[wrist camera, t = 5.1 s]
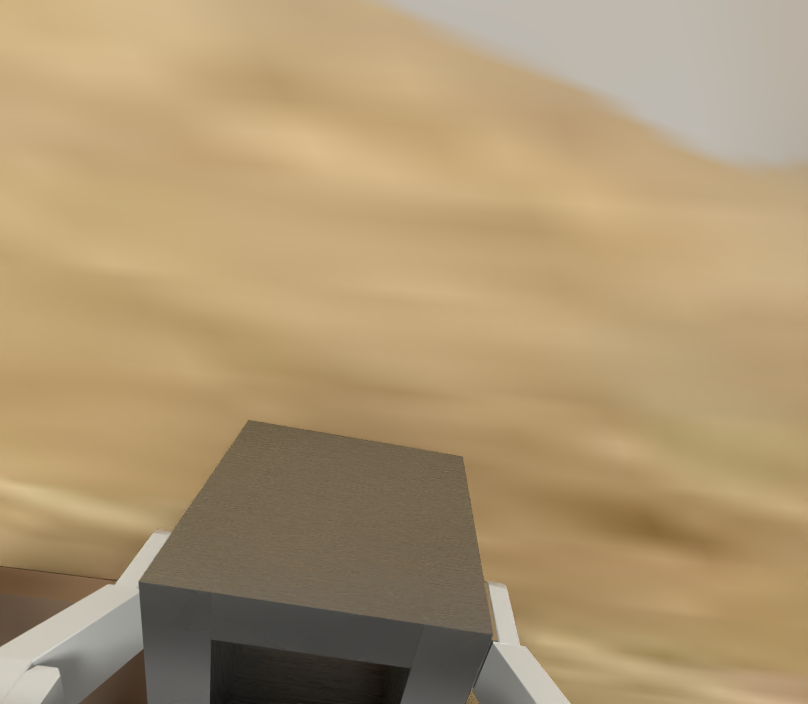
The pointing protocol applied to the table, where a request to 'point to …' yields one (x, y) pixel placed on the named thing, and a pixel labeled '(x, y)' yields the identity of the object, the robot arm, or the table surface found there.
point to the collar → (318, 578)
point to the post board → (47, 596)
